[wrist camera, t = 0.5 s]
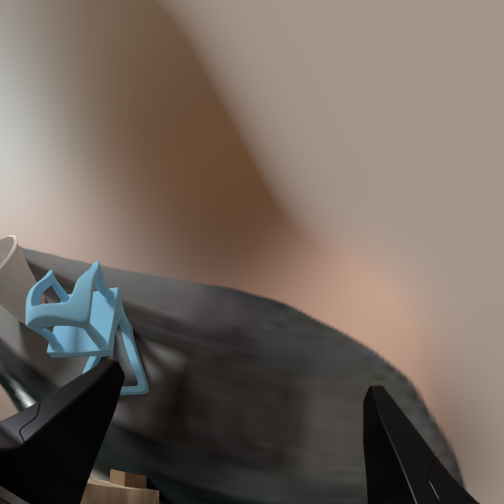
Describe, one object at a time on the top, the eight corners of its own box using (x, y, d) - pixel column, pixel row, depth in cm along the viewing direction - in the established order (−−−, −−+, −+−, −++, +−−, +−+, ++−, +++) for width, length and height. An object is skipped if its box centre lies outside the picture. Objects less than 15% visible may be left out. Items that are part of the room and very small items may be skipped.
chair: (151, 323, 28) (105, 235, 20) (149, 395, 22) (80, 321, 14) (91, 329, 28) (36, 251, 20) (81, 395, 21) (4, 327, 13)
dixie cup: (56, 313, 29) (15, 257, 22) (14, 341, 26) (-31, 291, 19) (49, 277, 34) (17, 225, 27) (11, 302, 31) (-24, 255, 24)
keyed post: (159, 525, 13) (81, 537, 5) (121, 516, 13) (32, 513, 5) (159, 478, 16) (82, 461, 9) (122, 471, 16) (36, 444, 9)
